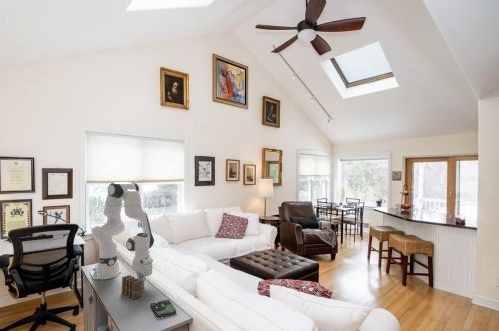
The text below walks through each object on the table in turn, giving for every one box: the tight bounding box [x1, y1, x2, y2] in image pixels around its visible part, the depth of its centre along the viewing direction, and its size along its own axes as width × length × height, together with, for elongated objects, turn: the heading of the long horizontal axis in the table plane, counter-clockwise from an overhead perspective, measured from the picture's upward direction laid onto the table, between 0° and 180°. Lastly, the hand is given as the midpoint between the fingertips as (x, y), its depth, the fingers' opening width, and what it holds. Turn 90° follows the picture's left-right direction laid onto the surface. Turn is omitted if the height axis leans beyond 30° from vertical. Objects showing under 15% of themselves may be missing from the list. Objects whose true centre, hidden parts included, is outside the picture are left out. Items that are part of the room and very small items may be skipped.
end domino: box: [137, 272, 145, 289], centre depth 177 cm, size 2×5×10 cm, turn 49°
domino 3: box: [127, 277, 138, 299], centre depth 163 cm, size 2×5×10 cm, turn 139°
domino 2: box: [124, 276, 136, 297], centre depth 166 cm, size 2×5×10 cm, turn 139°
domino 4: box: [131, 280, 143, 301], centre depth 161 cm, size 2×5×10 cm, turn 140°
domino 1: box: [121, 274, 132, 295], centre depth 169 cm, size 2×5×10 cm, turn 140°
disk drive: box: [150, 299, 177, 319], centre depth 147 cm, size 10×3×15 cm
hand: (141, 279), depth 177 cm, fingers closed on end domino, 5 cm apart
